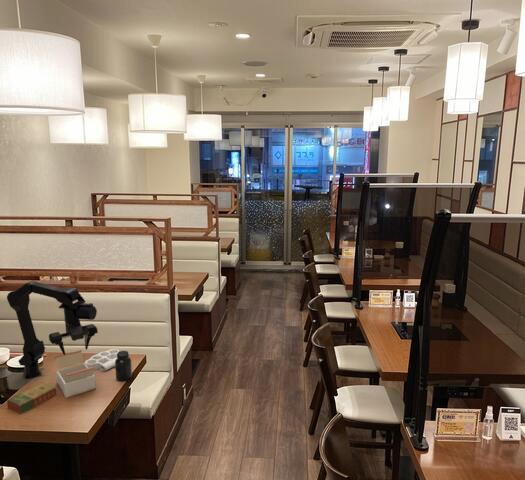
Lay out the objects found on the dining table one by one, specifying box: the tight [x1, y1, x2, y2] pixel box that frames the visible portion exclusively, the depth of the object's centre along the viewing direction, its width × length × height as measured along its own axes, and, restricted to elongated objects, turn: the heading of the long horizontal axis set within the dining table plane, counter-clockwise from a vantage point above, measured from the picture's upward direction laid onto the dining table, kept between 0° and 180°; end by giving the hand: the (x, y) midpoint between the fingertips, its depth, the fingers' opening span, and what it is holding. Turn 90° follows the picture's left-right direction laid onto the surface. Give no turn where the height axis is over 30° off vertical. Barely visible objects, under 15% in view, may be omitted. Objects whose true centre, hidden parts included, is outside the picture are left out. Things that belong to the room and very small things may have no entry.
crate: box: [55, 362, 96, 398], centre depth 200 cm, size 14×12×6 cm
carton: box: [6, 381, 57, 414], centre depth 189 cm, size 8×16×4 cm, turn 151°
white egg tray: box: [84, 348, 120, 372], centre depth 222 cm, size 3×18×15 cm
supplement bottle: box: [114, 350, 133, 382], centre depth 207 cm, size 7×7×12 cm
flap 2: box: [66, 367, 96, 382], centre depth 193 cm, size 5×11×1 cm
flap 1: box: [54, 349, 85, 370], centre depth 206 cm, size 5×11×1 cm
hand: (75, 352), depth 203 cm, fingers open, 9 cm apart
